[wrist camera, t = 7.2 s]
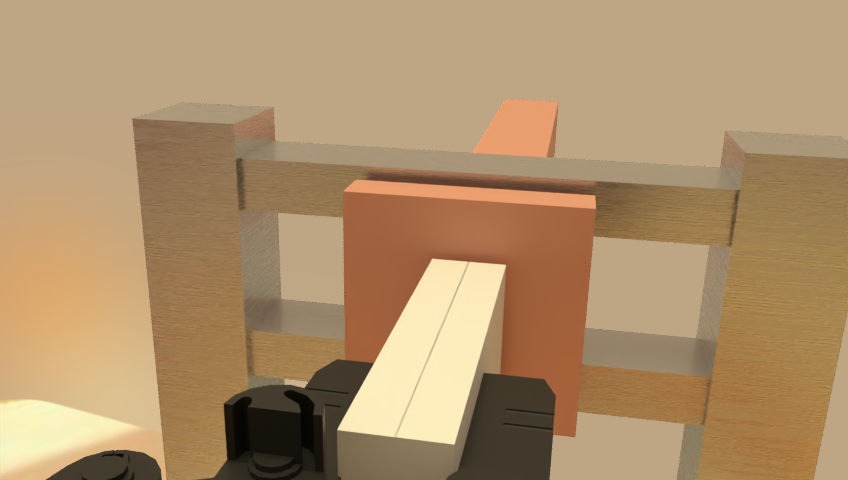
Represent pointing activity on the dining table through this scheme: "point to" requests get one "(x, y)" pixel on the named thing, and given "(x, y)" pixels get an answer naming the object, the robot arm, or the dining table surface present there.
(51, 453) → the dining table surface
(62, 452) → the dining table surface
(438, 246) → the bar
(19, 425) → the dining table surface
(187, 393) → the frame
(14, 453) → the dining table surface
